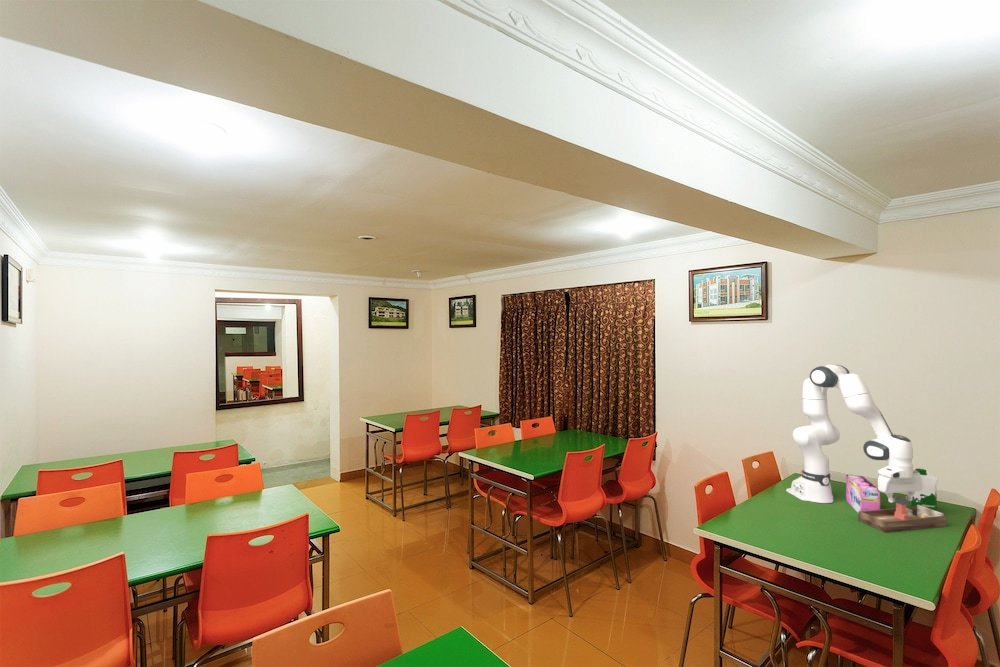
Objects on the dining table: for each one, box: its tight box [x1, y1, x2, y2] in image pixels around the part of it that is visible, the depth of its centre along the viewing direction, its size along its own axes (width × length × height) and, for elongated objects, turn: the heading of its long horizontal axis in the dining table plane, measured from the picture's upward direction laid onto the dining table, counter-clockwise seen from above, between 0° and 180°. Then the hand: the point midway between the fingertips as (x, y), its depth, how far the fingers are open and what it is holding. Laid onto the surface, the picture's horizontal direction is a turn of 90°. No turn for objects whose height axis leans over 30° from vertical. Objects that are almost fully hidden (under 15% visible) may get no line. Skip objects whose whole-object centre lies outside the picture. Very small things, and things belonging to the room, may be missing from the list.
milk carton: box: [910, 468, 939, 511], centre depth 230 cm, size 9×9×20 cm
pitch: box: [857, 505, 947, 533], centre depth 217 cm, size 13×32×6 cm, turn 99°
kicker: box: [894, 495, 908, 520], centre depth 217 cm, size 4×2×10 cm, turn 9°
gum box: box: [845, 474, 881, 513], centre depth 236 cm, size 24×8×14 cm, turn 159°
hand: (900, 501), depth 217 cm, fingers open, 8 cm apart
